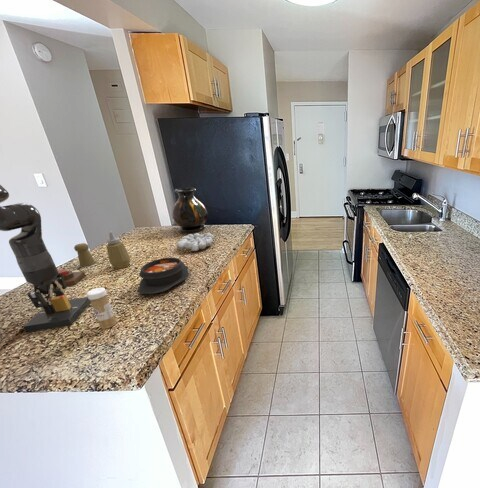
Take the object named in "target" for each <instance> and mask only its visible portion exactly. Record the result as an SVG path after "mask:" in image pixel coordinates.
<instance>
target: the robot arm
mask: <svg viewBox="0 0 480 488" xmlns="http://www.w3.org/2000/svg"><path fill="white" fill-rule="evenodd" d="M9 197H10V193H9V191H8V190H7V189H6V188H5V187H4V186H3V185H1V184H0V204H2V203H4V202H5V201H7V200H8V199H9ZM18 229H20V232H19V233H18V234H16V235H14V236H12V237H11V238H9V240H8V244H9V247H10V249H11V251H12V252H13V255H14V257H15V259H16V263H17V265H18V268H19V269H20V271H21V273H22V275H23V277H24V280H25V282H27V283H28V284H31V285H33V290H32V291H30V292H27V297H28V298H29V300H30V301H31V303H32V304H33V307H35V309H39V308H42V307H43V308H44V310H45V312H46V314H47V315H52V314H55V313H56V310H55V308H54V306H53V304H52V302H51V298H52V297H58V296H61V295H65V292H66V291H65V290H66V289H67V288H68V286H66V283H65V280H64V277H63V274H62V273H60V274H59V273H58V271H59V270H58V268H57V266H56V263H55V262H54V259H53V257H52V255H51V253H50V252H49V250H48V248H47V246H46V244H45V242H44V239H43V228H42V216H41V212H39V210H38V209H37V208H36V207H35V206H34V205H32V204H30V203H27V202H19V203H18V202H17V203H14V204H9V205H3V206H2V205H0V232H11V231H14V230H18ZM59 283H61V284H62V286H61V285H60V284H59ZM45 298H46V299H47V302H46V301H45ZM43 308H42V309H43Z"/></svg>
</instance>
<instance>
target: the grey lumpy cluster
mask: <svg viewBox="0 0 480 488" xmlns="http://www.w3.org/2000/svg"><path fill="white" fill-rule="evenodd" d="M214 240H215V236H214V235H213V234H211V232H205V233H204V234H200V233H199V232H195V233H187V235H184V236H182V237H181V239H180V240H179V241H177V242H176V244H175V247H176V248H177V249H179V250H182V251H184V250H186V249H188V250H190V251H192V252H197V251H200V250H205V249H206V248H208V247H211V246H212V244H213V241H214Z"/></svg>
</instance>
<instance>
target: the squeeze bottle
mask: <svg viewBox="0 0 480 488" xmlns="http://www.w3.org/2000/svg"><path fill="white" fill-rule="evenodd" d="M108 235H109V236H108V237H109V238H108V239H107V240H106V242H107V245H106V251H107V257H108V260H109V264H110V265H111V266H112V267H113V268H114V269H117V270H119V269H123V268H124V269H125V268H127V267H129V266H130V261H131V257H130V255H129V253H128V250H127V248H126V246H125V243H124V242H122V241H121V240H120V238H119V237H116V235H115V234H114V232H113V231H109V232H108Z"/></svg>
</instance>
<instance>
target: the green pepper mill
mask: <svg viewBox="0 0 480 488" xmlns="http://www.w3.org/2000/svg"><path fill="white" fill-rule="evenodd" d="M89 248H90V247H89V244H88V243H86V242H82V243H78V244H75V245H74V246H73V249H74V250H75V252H76V253H77V258H78V261H79V262H78V263H79V267H81V268H86V267H90V266H91V267H92V266H94V265H96V264H97V262H96V260H95V259H94V257H93V255H92V253H91V252H90V250H89Z"/></svg>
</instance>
